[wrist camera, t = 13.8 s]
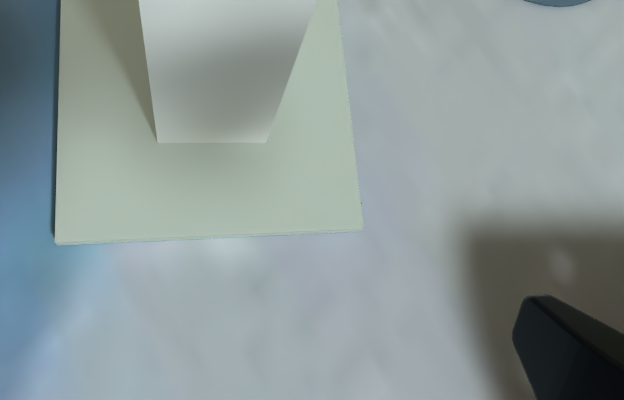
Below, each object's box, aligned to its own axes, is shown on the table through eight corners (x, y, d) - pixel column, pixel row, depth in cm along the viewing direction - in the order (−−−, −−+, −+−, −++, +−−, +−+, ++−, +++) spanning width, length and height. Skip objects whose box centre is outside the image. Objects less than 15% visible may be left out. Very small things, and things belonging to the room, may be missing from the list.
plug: (266, 142, 24) (342, -71, 12) (157, 143, 23) (126, -89, 11) (259, 48, 25) (323, -230, 13) (155, 45, 24) (125, -258, 12)
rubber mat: (359, 231, 24) (363, 228, 24) (58, 245, 22) (54, 242, 21) (331, -12, 27) (334, -20, 27) (64, -27, 25) (61, -36, 24)
